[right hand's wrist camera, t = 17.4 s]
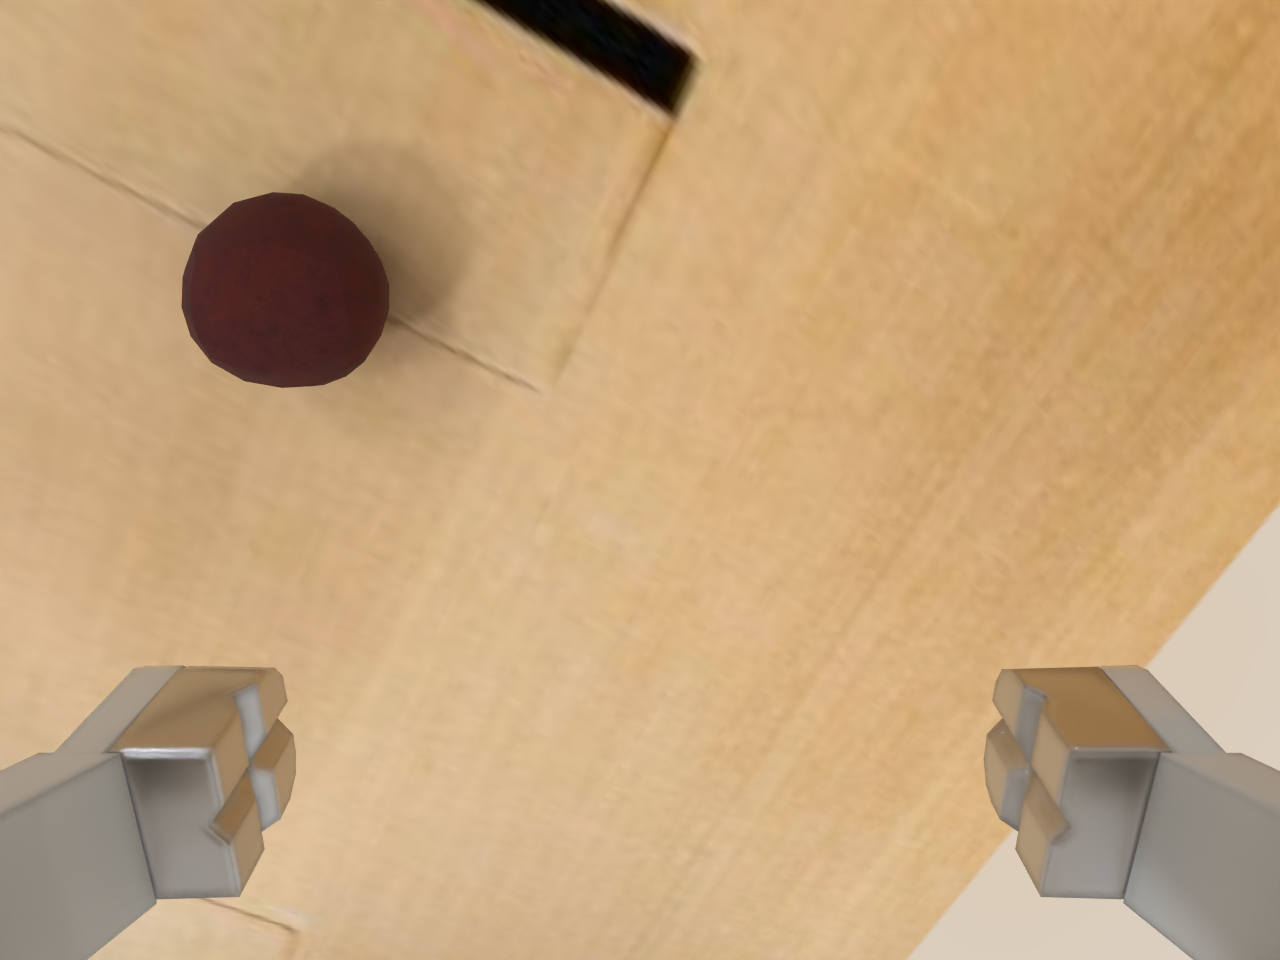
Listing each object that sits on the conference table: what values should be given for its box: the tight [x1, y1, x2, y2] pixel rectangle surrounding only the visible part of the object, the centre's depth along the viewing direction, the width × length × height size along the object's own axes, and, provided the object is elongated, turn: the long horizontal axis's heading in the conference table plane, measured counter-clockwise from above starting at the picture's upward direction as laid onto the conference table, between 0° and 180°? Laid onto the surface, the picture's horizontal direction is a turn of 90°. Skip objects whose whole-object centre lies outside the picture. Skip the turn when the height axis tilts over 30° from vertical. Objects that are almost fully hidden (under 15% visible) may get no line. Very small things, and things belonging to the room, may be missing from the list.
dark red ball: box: [182, 192, 389, 388], centre depth 35 cm, size 7×8×7 cm
